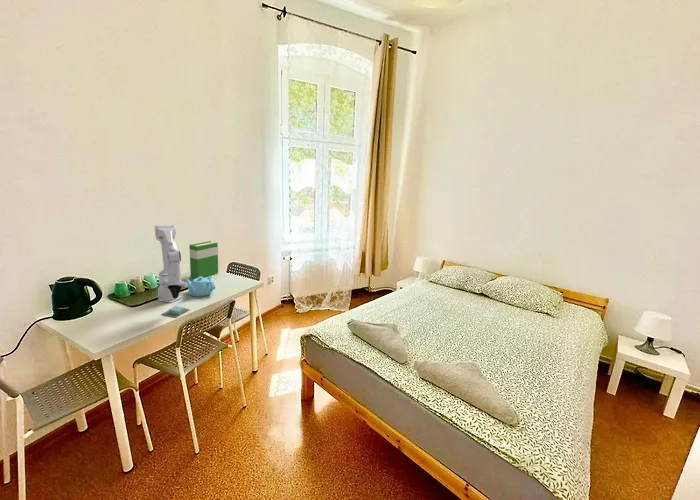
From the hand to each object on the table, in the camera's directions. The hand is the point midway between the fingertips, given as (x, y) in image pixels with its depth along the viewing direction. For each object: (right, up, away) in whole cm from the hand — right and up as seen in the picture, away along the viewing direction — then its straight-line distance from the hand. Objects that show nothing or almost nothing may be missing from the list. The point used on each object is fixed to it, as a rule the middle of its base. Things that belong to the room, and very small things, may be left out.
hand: (175, 297), depth 167 cm
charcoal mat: (-1, -8, +2) cm, 9 cm away
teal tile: (-3, -7, +2) cm, 7 cm away
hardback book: (-13, +7, +61) cm, 62 cm away
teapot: (-1, -2, +30) cm, 30 cm away
